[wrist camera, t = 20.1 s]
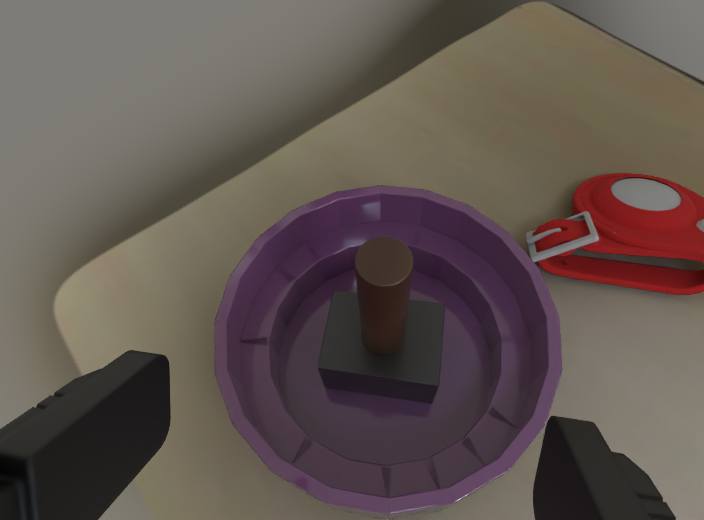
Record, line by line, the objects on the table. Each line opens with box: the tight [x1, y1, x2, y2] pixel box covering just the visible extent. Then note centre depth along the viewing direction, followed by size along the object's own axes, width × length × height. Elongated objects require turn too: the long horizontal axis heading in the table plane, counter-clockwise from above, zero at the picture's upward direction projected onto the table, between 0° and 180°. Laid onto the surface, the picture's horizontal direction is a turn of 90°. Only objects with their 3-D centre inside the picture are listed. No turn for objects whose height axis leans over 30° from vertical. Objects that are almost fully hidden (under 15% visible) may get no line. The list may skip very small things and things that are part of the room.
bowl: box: [215, 185, 562, 520], centre depth 25 cm, size 16×16×6 cm
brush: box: [317, 236, 445, 404], centre depth 22 cm, size 6×4×11 cm
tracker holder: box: [526, 173, 704, 295], centre depth 29 cm, size 12×4×10 cm
